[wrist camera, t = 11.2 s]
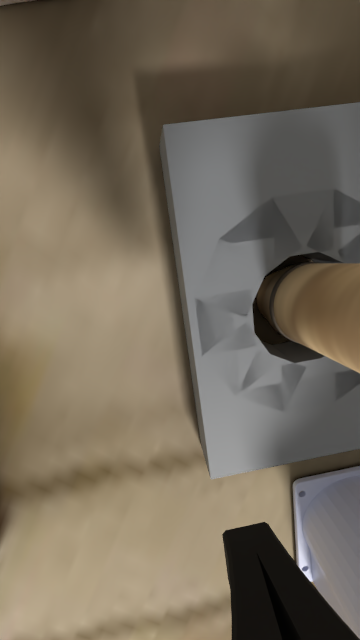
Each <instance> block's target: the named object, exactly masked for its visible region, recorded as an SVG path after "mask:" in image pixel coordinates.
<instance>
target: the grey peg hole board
mask: <svg viewBox="0 0 360 640" xmlns="http://www.w3.org/2000/svg"><path fill="white" fill-rule="evenodd" d="M159 147H160V155H161V162H162V169H163V176H164V183H165V190H166V197H167V204H168V212H169V219H170V226H171V233H172V240H173V247H174V254H175V262H176V269H177V276H178V283H179V290H180V297H181V304H182V312H183V319H184V326H185V333H186V340H187V347H188V354H189V361H190V369H191V376H192V383H193V390H194V397H195V404H196V411H197V419H198V426H199V433H200V440H201V446H202V450H203V453H204V457H205V460H206V464H207V468H208V471H209V475H210V478H211V479H215V478H220V477H225V476H230V475H235V474H240V473H244V472H249V471H254V470H259V469H264V468H269V467H274V466H278V465H283V464H288V463H293V462H298V461H303V460H308V459H312V458H317V457H322V456H327V455H332V454H337V453H342V452H346V451H351V450H356V449H360V373H358V372H356V371H354V370H352V369H350V368H348V367H346V366H344V365H342V364H340V363H338V362H336V361H334V360H332V359H330V358H328V357H326V356H324V355H322V354H320V353H318V352H316V351H314V350H312V349H310V348H308V347H306V346H304V345H302V344H300V343H296V342H294V341H291V342H286V343H280V344H274V345H271V344H268V343H266V342H263V341H260V340H259V338H258V337H257V336H256V334H255V333H254V322H253V309H252V303H253V301H254V299H255V297H256V294H257V292H258V290H259V288H260V286H261V283H262V281H263V279H264V277H265V275H267V274H268V273H269V272H270V271H272V270H273V269H274V268H276V267H277V266H278V265H279V264H281V263H282V262H283V261H285V260H286V259H287V258H288V257H290V256H295V255H303V256H305V257H307V258H309V259H312V260H313V261H314V262H318V263H360V102H357V103H348V104H339V105H331V106H322V107H313V108H305V109H296V110H287V111H278V112H270V113H261V114H252V115H244V116H235V117H226V118H217V119H209V120H200V121H191V122H183V123H174V124H165V125H163V127H162V133H161V139H160V145H159Z"/></svg>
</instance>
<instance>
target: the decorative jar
mask: <svg viewBox="0 0 360 640" xmlns="http://www.w3.org/2000/svg"><path fill="white" fill-rule="evenodd" d="M27 1H35V0H0V6H2V5H7V4H14V3H20V2H27Z"/></svg>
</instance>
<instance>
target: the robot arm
mask: <svg viewBox="0 0 360 640" xmlns="http://www.w3.org/2000/svg"><path fill="white" fill-rule="evenodd" d="M301 491H302V492H301ZM299 492H300V493H299ZM293 502H294V521H295V540H296V559H297V564H296V563H295V561H294V560H293V559H292V557H291V556H290V555H289V554H288V552H287V551H286V549H285V548H284V547H283V545H282V544H281V542H280V541H279V540H278V538H277V537H276V535H275V534H274V532H273V531H272V529H271V528H270V526H269V525H268V524H267V523H265V522H262V523H258V524H253V525H249V526H244V527H240V528H235V529H231V530H226V531H225V532H224V533H223V534H222V535H223V542H224V550H225V557H226V565H227V573H228V580H229V584H230V589H231V611H232V640H360V466H357V467H352V468H347V469H343V470H338V471H333V472H328V473H324V474H319V475H314V476H309V477H305V478H300V479H297V480H295V481H294V483H293ZM311 581H313V582H314V584H315V586H316V588H317V589H316V588H315V587H314V585H313V584H312V583H311Z"/></svg>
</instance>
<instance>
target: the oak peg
mask: <svg viewBox="0 0 360 640" xmlns="http://www.w3.org/2000/svg"><path fill="white" fill-rule="evenodd" d="M257 305H258V308H259V311H260V312H261V314H262V315H263V316H264V317H265V318H266V319H267V320H268V322H269V324H270V325H271V326H272V327H273V328H274V329H275V330H276V331H277V332H278V333H280V334H282V335H283V336H284V337H286V338H288V339H290V340H292V341H294V342H296V343H300V344H302V345H304V346H306V347H308V348H310V349H312V350H314V351H316V352H318V353H320V354H322V355H324V356H326V357H328V358H330V359H332V360H334V361H336V362H338V363H340V364H342V365H344V366H346V367H348V368H350V369H352V370H354V371H356V372H358V373H360V263H318V262H308V263H299V264H293V265H290V266H288V267H286V268H284V269H282V270H280V271H276V272H274V273H272V274H270V275H269V276H267V277H266V278H265V279H264V280H263V282H262V283H261V286H260V288H259V290H258V293H257Z"/></svg>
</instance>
